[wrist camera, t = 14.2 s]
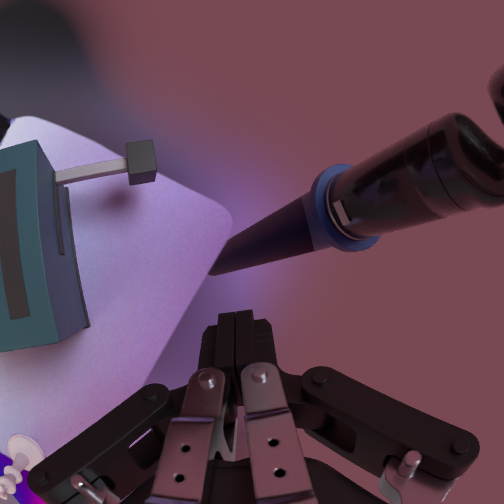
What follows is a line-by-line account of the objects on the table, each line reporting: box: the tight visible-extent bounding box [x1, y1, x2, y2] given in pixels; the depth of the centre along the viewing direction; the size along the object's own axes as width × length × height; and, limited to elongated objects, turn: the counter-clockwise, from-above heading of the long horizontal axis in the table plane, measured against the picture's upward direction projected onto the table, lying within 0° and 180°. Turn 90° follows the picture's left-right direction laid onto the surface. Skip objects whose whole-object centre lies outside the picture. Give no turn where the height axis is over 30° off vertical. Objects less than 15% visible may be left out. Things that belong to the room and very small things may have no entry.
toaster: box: [0, 140, 90, 353], centre depth 21 cm, size 8×14×12 cm, turn 14°
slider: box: [55, 140, 157, 186], centre depth 24 cm, size 9×3×3 cm, turn 104°
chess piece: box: [0, 434, 45, 500], centre depth 17 cm, size 5×5×10 cm
